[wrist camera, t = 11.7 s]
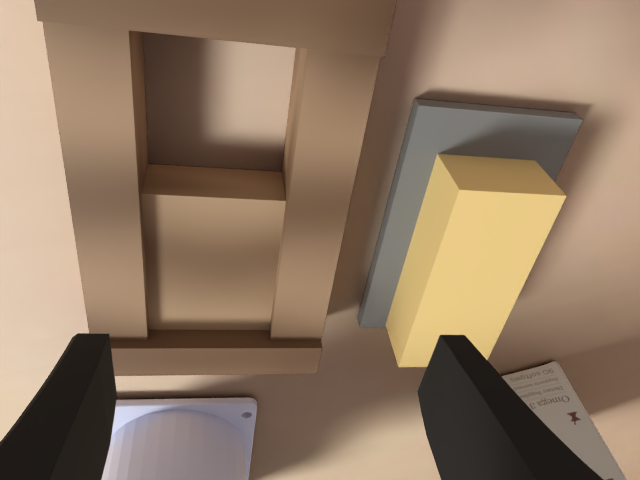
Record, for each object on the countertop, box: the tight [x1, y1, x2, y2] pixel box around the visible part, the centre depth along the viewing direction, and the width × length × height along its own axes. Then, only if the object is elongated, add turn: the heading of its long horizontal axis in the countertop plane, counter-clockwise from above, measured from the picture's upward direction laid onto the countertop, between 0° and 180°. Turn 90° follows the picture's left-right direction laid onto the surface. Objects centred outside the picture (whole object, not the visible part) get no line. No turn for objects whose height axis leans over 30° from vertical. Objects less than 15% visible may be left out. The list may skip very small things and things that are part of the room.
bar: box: [386, 154, 566, 367], centre depth 22 cm, size 9×4×2 cm, turn 172°
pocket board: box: [34, 0, 397, 376], centre depth 19 cm, size 15×9×3 cm, turn 172°
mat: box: [357, 99, 583, 328], centre depth 23 cm, size 11×6×1 cm, turn 172°
